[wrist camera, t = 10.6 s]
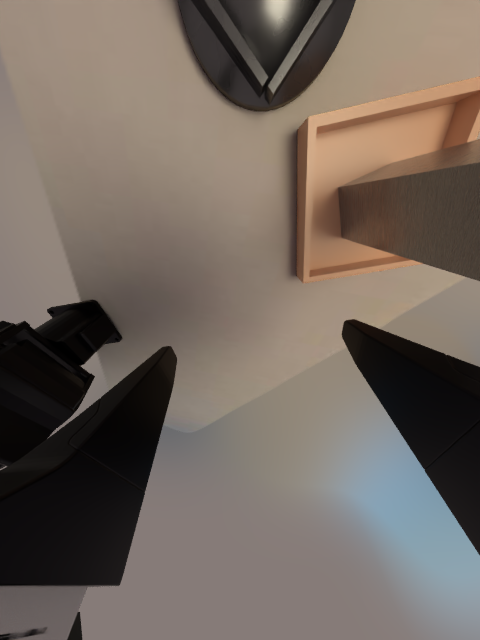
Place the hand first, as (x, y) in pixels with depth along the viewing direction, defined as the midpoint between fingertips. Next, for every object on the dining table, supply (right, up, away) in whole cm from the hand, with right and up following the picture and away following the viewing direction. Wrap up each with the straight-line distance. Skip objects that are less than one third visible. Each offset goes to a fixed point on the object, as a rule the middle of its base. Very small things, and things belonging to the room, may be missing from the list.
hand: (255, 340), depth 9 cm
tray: (+11, +12, +8) cm, 18 cm away
